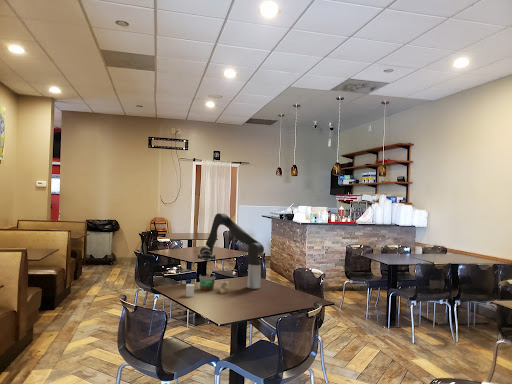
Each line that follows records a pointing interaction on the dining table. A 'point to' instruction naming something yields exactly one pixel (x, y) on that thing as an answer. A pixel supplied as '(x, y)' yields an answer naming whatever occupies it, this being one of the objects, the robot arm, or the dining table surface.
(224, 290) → the birch block
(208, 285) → the food container
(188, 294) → the grey block
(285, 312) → the dining table surface
